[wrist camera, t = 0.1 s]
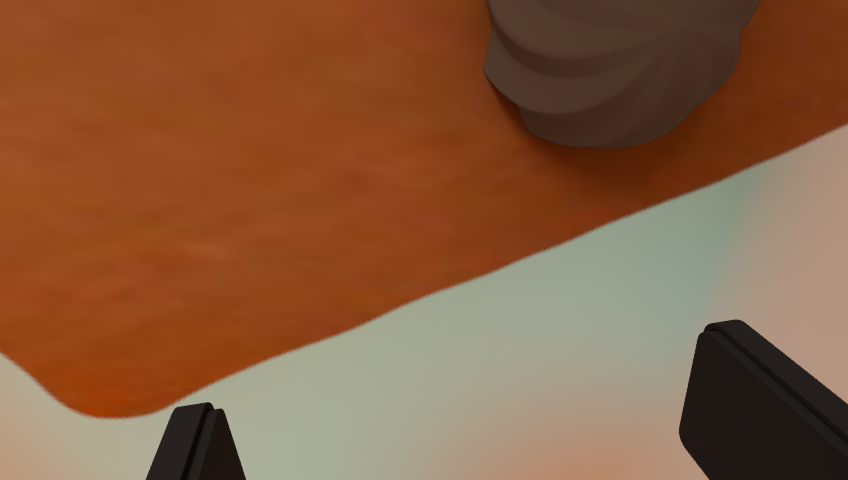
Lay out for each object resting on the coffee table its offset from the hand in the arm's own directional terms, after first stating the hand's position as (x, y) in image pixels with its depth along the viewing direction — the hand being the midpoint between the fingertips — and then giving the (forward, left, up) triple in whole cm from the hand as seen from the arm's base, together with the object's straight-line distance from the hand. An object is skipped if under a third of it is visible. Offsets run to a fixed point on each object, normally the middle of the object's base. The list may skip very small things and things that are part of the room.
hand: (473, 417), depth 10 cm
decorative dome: (-5, +18, -32) cm, 37 cm away
